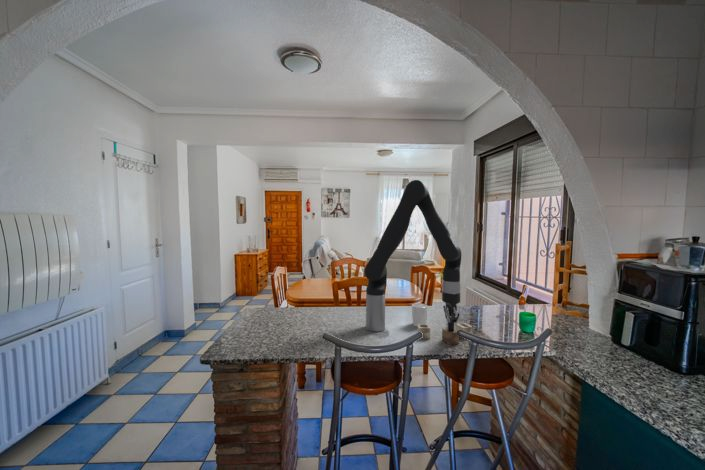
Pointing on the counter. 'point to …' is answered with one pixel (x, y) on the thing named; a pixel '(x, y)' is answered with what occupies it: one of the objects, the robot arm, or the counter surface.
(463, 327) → the beech cube right
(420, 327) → the beech cube left
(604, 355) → the counter surface
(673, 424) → the counter surface
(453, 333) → the walnut cube
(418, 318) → the white cup
